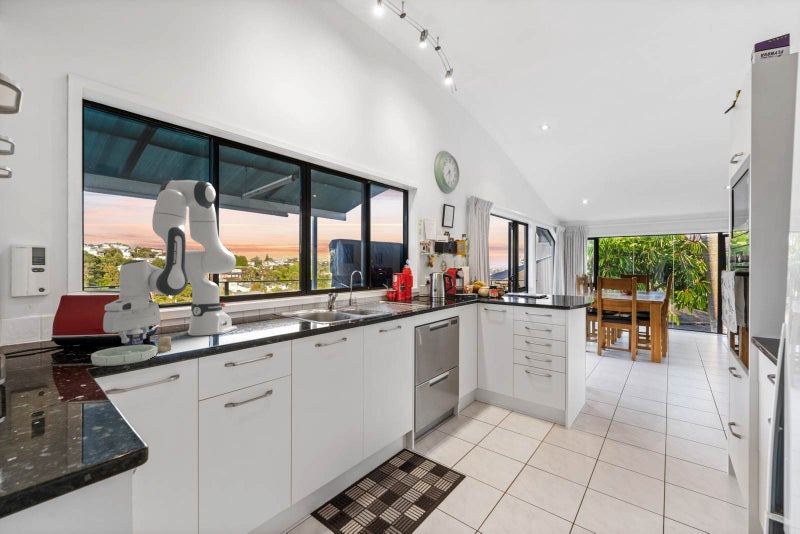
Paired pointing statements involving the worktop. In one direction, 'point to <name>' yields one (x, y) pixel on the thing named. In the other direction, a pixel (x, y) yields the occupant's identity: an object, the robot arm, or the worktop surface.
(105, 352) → the dish
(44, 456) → the worktop surface
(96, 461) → the worktop surface
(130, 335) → the pill bottle
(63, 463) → the worktop surface
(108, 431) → the worktop surface
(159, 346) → the beech bead
